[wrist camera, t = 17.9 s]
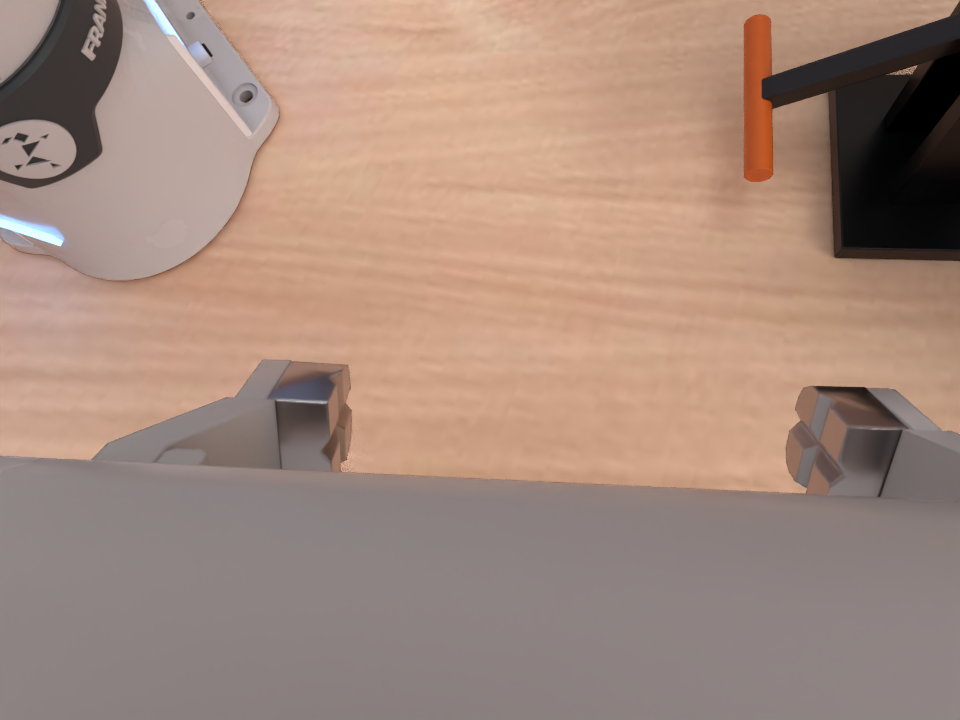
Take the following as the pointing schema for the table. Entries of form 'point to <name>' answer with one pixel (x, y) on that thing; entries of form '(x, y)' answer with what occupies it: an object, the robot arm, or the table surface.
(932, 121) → the switch bracket
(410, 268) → the table surface
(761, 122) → the switch
